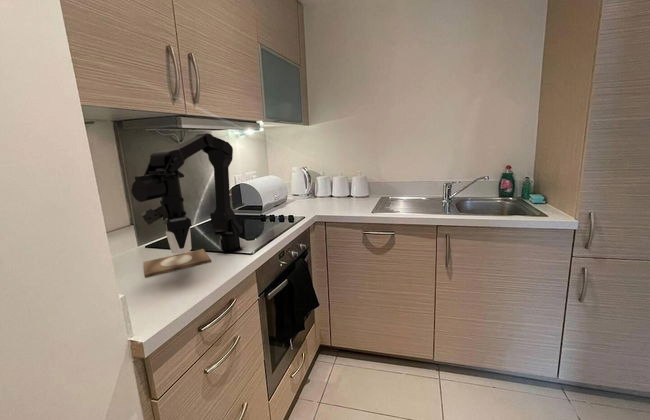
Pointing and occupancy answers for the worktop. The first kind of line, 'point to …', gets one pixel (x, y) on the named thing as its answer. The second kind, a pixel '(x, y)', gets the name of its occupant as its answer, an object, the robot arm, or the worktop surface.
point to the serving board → (175, 262)
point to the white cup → (174, 244)
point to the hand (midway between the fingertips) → (180, 245)
